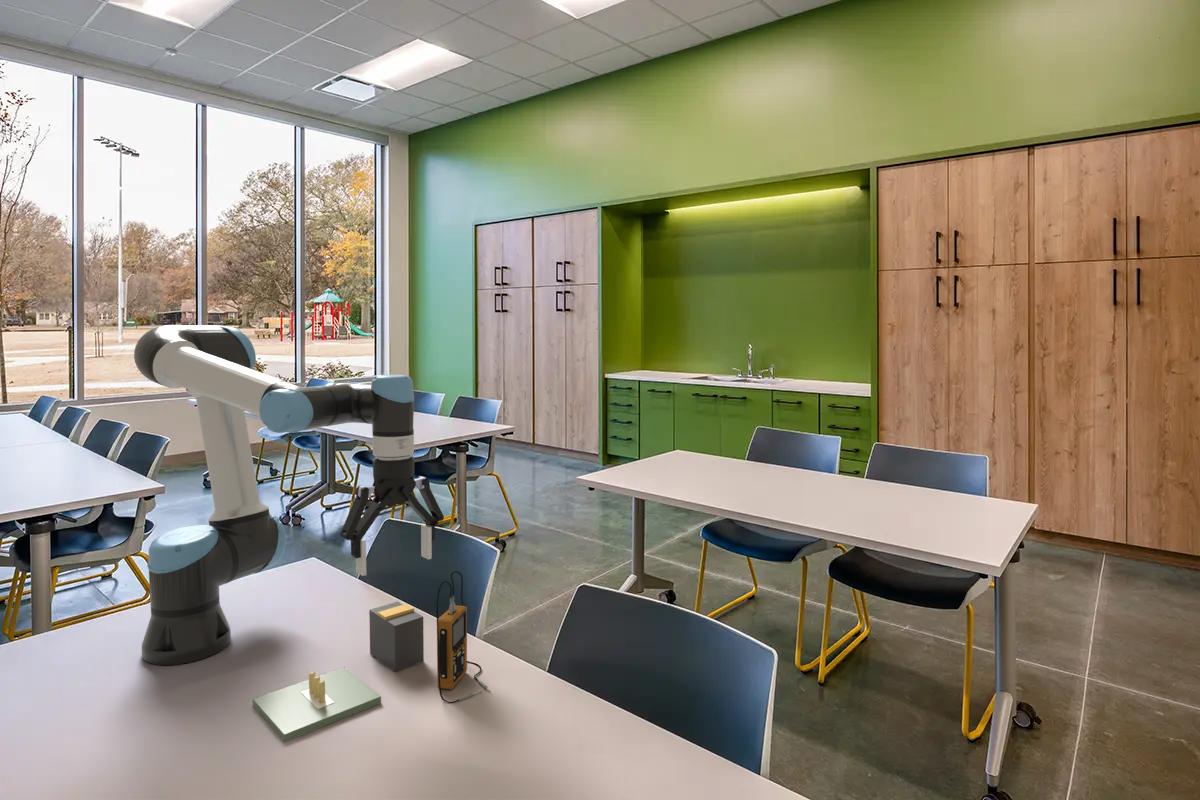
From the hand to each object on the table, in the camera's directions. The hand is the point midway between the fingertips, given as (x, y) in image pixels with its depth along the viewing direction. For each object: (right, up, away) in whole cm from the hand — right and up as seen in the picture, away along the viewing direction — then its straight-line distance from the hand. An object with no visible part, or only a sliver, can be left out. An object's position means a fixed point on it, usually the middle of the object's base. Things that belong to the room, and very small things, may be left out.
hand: (395, 565), depth 130 cm
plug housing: (0, -19, +2) cm, 19 cm away
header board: (-9, -20, -15) cm, 26 cm away
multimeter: (+16, -20, -7) cm, 27 cm away
